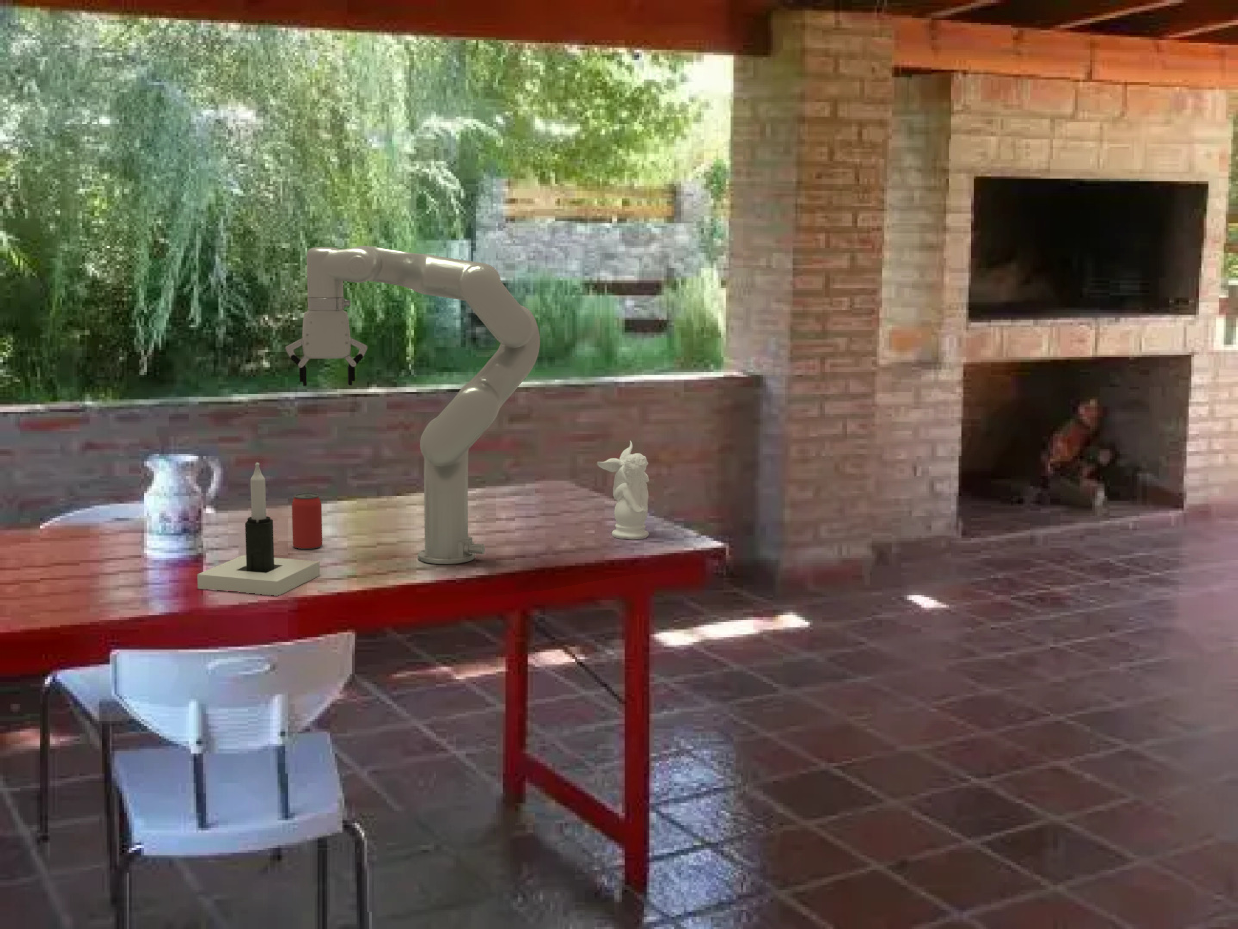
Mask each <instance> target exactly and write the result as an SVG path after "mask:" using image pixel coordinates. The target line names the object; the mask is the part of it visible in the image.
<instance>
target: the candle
mask: <svg viewBox="0 0 1238 929" xmlns="http://www.w3.org/2000/svg"><path fill="white" fill-rule="evenodd" d="M254 465H255V468H254V472H253V474H252V476H251V478H250V480H249V481H250V505H251V506H250V507H251V509H250V510H251V516H249V517H248V518H247V520H246V522H245V523H244V525H245V526H244V531H245V533H244V534H245V555H246V566H247V571H249V572H261V573H267V572H270V571H272V570H274V558H275V551H274V550H275V549H274V548H275V544H274V542H275V541H274V520H273V519H272V518H271V516H267V502H266V500H267V499H266V498H267V497H266V493H267V492H266V478H265V476H264V475H263V474H262V471H261V468H260V462H255V464H254Z"/></svg>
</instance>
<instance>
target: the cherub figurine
mask: <svg viewBox="0 0 1238 929" xmlns="http://www.w3.org/2000/svg"><path fill="white" fill-rule="evenodd" d="M633 448H634V446H633V442H632V441H631V440H629V446H628V447H627V448H625V449H624V450H623V451H622V452H621V454H620V456H619V458H616V457H614V458H613V457H611V458H607V459H606V460H605V461H597V462H596V466H597V467H599V468H600V469H603V470H604V471H607V472H610V473H615V475H614V478H613V488H612V494H613V498H614V500H615V501H616V504H615V507H614V510H613V514H614V519H615V521H616V523H615V525H614V526H615V528H616V529H613V530H612V532H611V534H612V535H611V536H612V537H613V538H616V539H620V540H621V539H622V540H625V539H628V540H644V539H646V538H648V536H649V535H650V534H649V531H647V530H645V528H646V524H645V522H646V520H647V518H648V511H649V506H648V503H649V494H650V493H649V491H648V484H647V483H649V482H650V479H649V475H648V474H647V472H646V471H647V466H648V465H649V462H648V459H647V456H645V455H643V454H642V453H640V452H638V453H636V452H635V453H632V450H633Z"/></svg>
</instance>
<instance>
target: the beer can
mask: <svg viewBox="0 0 1238 929" xmlns="http://www.w3.org/2000/svg"><path fill="white" fill-rule="evenodd" d="M322 512H323V511H322V501H321V499H320V495H319V493H317V492H315V493H314V492H301V493H300V492H299V493H296V494H294V495H293V500H292V504H291V517H292V518H291V523H292V526H291V527H292V546H293V548H295V549H297V548H298V550H303V549H309V550H315V548H316V549H319V548H320V547H322V546H323V518H322V517H323V514H322Z"/></svg>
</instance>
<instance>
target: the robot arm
mask: <svg viewBox="0 0 1238 929" xmlns="http://www.w3.org/2000/svg"><path fill="white" fill-rule="evenodd" d="M306 273H307V274H306V277H307V278H306V279H307V280H306V281H307V311H304V314H303V318H302V319H303V320H302V331H301V332H302V337H301V338H300V339H298V340H296V341H294V342H292V343H290V344H288V345H286V346H285V350H286V353H287V355H288V357H289V358H290V360H292V362H293V363H294V364H295V365H297V367H298V368H299V369H298V371H299V383H302V386H303V387H306V386H308V384H307V383H308V381H307V380H308V378H307V376H308V375H307V366H306V364H307V363H308V361H310V360H311V359H312V360H313V359H314V360H316V359H318V360H319V359H320V360H322V359H325V360H326V359H327V360H328V359H345V360H346V361H347V363H348V366H347V384H348V385H349V386H353V382H355V381H356V366H357V365H358V364H359V363H360V362H361V361H362V359H364V356H365V355H366V352H367V350H368V345H366V344H364V343H362V342H360V341H358V340H357V339H354V338H353V337H351V331H350V329H351V328H350V323H349V321H350V320H349V315H348V312H347V311H345V310H344V309H345V308H347V307H351V299H346V298H344V282H350V283H356V284H357V283H359V284H362V283H366V282H375V283H382V284H388V285H393V286H395V285H396V286H398V287H404V288H406V289H410V290H412V291H413V292H416V293H419V294H422V295H425V296H426V295H427V296H434V297H439V298H440V297H441V298H446V299H447V298H448V299H453V300H459V301H466V303H467V305H468V306H469V307H470V308H471V310H472V311H473V312H474V314H475V315H476V316H477V317H478V319H479V320H480V321H481V323H483V325H484V326H485V328H487V330H488V331H489V332H490V333H491V335H492V336H493V337H494V338H495V339H496V340H497V342H499V343H500V344H499V346H498V349H497V350H496V351H495V353H494V354H493V355H492V356H491V358H489V360H488V361H487V362H486V363H485V365H484V366H483V367H481V369H480V370H479V371H478V372H477V373H476V374H475V375H474V377H473V378H471V379H470V381H468V382H467V383H466V384H465V385H463V386H462V387H461V388H460V390H459V391H458V393H457V394H456V395H455V397H454V398H453V399H452V400H451V401H450V402H449V403H448V404H447V405H446V406H445V408H444V409H443V410H442V411H441V412H440V413H439V414H438V416H436V417H434V418H433V419H432V420H431V421H429V422H428V424H426V426H425V428H424V430H423V432H422V434H421V436H420V441H419V448H420V453H421V455H422V456H423V459H424V462H423V463H424V464H423V466H424V467H423V479H424V480H423V483H424V484H423V485H424V486H423V487H424V488H423V491H424V492H423V493H424V494H423V496H424V497H423V499H424V500H423V506H424V510H423V512H424V519H423V520H424V549H422V550H420V551H419V552H418V553H417V559H418V560H419V561H421V562H424V563H427V564H435V565H437V564H438V565H454V564H455V565H456V564H462V563H467V562H471V561H473V560H474V559H475V558H476V555H477V554H478V555H484V554H485V552H486V546H485V544H483V543H475V542H473V536H469V496H468V495H469V449H470V448H472V446H473V445H474V444H475V443H476V442H477V440H478V439H479V438H481V436H482V435H483V434H484V433H485V432H486V430H488V428H490V426H491V425H492V424H493V423H494V422H495V420H496V418H497V417H498V414H499V411H500V409H501V407H503V405H504V404H505V403H506V401H507V400H509V398H510V397H511V396H512V394H514V393H515V391H516V390H517V388H518V387H519V386H520V385H521V384H522V383H523V381H525V379H526V377H528V376H529V374H530V373H531V371H532V369H533V368H534V366H535V364H536V362H537V359H538V357H539V353H540V346H541V338H540V337H541V335H540V330H539V326H538V323H537V320H536V317H535V315H534V314H533V313H532V311H531V310H529V308H527V307H525V306H523V305H521V304H520V303H519V301H518V300H516V298H515V297H514V296H513V295H512V294H511V291H509V290H508V288H507V287H506V286H505V285H504V283H503V282H502V281H501V277H500V274H499V272H498V270H497V269H496V268H495V267H494V266H492V265H490V264H487V263H484V262H478V261H471V260H466V259H459V258H451V257H446V256H439V255H434V254H427V253H417V252H416V253H414V252H408V251H401V250H395V249H390V248H389V249H388V248H384V247H383V248H382V247H378V246H377V247H375V246H371V245H370V246H369V245H359V246H355V247H351V248H341V249H340V248H339V247H327V246H324V247H323V246H321V247H319V246H318V247H311V248H309V249H308V250H307V252H306ZM300 347H302V349H301V350H302V354H303V355H302V357H301V358H299V356H297V355H296V354H295V352H294V351H295V350H296V349H298V348H300ZM351 347H355V348H357V349H359V350H358V353H357V354H356V355H355V356H354V357H352V356H351V350H352V348H351Z"/></svg>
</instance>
